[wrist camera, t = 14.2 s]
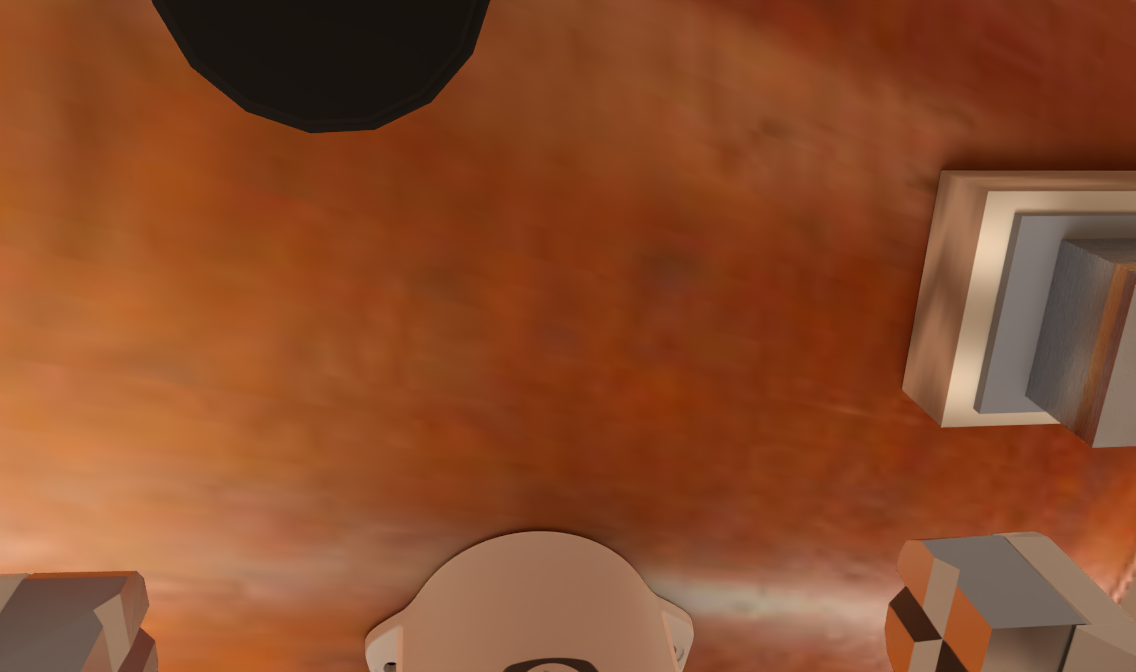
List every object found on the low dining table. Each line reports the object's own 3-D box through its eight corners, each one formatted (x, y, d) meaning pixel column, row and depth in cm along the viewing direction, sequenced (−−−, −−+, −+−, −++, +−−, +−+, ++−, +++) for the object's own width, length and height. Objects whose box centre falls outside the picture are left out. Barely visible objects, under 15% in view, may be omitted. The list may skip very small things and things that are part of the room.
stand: (1105, 383, 52) (1168, 425, 48) (901, 389, 51) (946, 433, 46) (1163, 170, 48) (1239, 194, 43) (941, 170, 46) (995, 194, 42)
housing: (1151, 236, 43) (1238, 272, 39) (1109, 394, 46) (1185, 444, 42) (1061, 237, 43) (1138, 273, 38) (1025, 396, 46) (1091, 448, 41)
